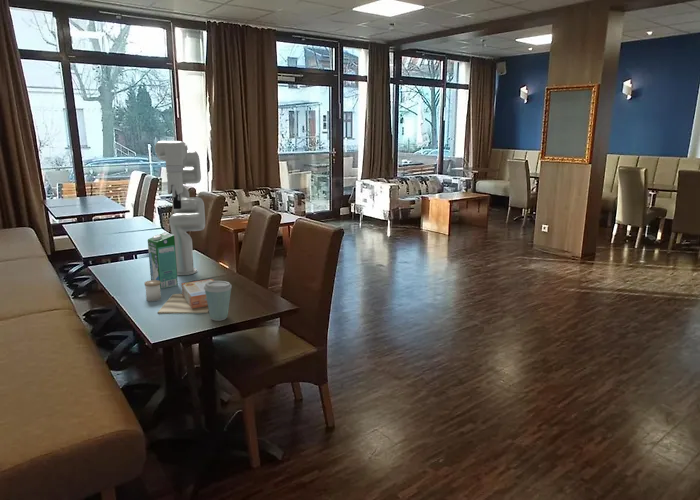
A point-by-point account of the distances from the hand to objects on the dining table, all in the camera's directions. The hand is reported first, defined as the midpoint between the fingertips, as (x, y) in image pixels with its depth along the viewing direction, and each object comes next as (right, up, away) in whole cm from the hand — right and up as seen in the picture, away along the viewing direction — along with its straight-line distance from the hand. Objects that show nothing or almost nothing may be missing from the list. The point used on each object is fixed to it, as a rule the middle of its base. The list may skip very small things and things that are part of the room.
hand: (177, 208), depth 231 cm
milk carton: (-8, -37, +6) cm, 38 cm away
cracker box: (+11, -36, -6) cm, 39 cm away
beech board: (+12, -43, -18) cm, 48 cm away
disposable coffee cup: (+29, -47, -34) cm, 65 cm away
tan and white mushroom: (-6, -41, -13) cm, 44 cm away
